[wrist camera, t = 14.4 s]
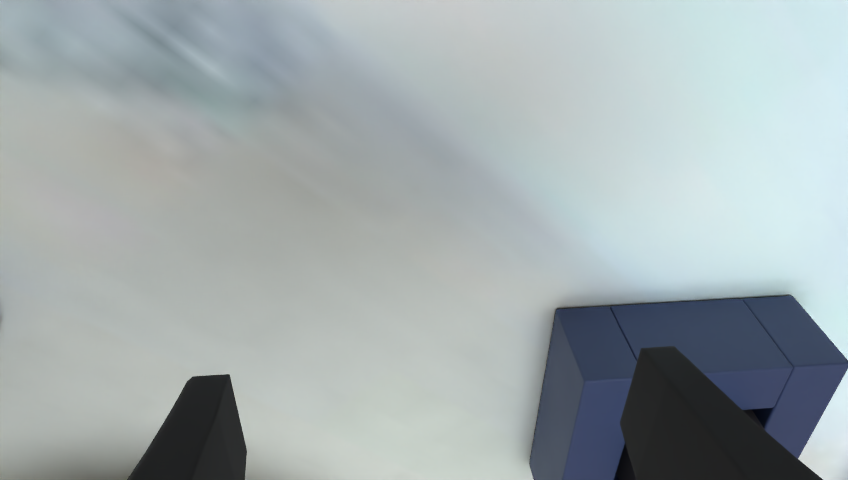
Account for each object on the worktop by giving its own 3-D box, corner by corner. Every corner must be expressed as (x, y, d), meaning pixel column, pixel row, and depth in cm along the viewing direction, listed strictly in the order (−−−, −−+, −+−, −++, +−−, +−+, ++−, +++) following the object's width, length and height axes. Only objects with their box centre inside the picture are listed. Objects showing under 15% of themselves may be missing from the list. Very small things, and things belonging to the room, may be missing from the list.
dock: (528, 463, 29) (548, 539, 26) (555, 308, 24) (584, 381, 21) (724, 447, 30) (765, 519, 27) (792, 294, 24) (852, 363, 22)
